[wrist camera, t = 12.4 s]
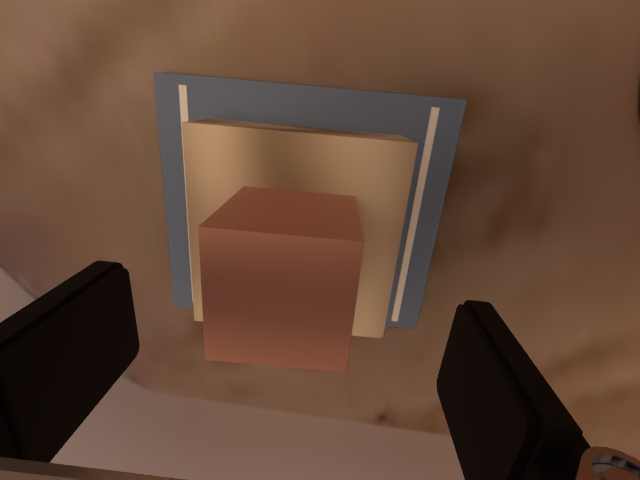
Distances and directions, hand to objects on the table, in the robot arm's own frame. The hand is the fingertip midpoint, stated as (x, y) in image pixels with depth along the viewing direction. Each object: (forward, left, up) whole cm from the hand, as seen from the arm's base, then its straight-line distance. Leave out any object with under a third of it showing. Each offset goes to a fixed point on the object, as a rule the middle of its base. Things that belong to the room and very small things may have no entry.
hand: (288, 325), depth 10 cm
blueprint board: (+1, 0, -12) cm, 12 cm away
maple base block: (+1, 0, -11) cm, 11 cm away
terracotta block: (+1, 0, -7) cm, 7 cm away
